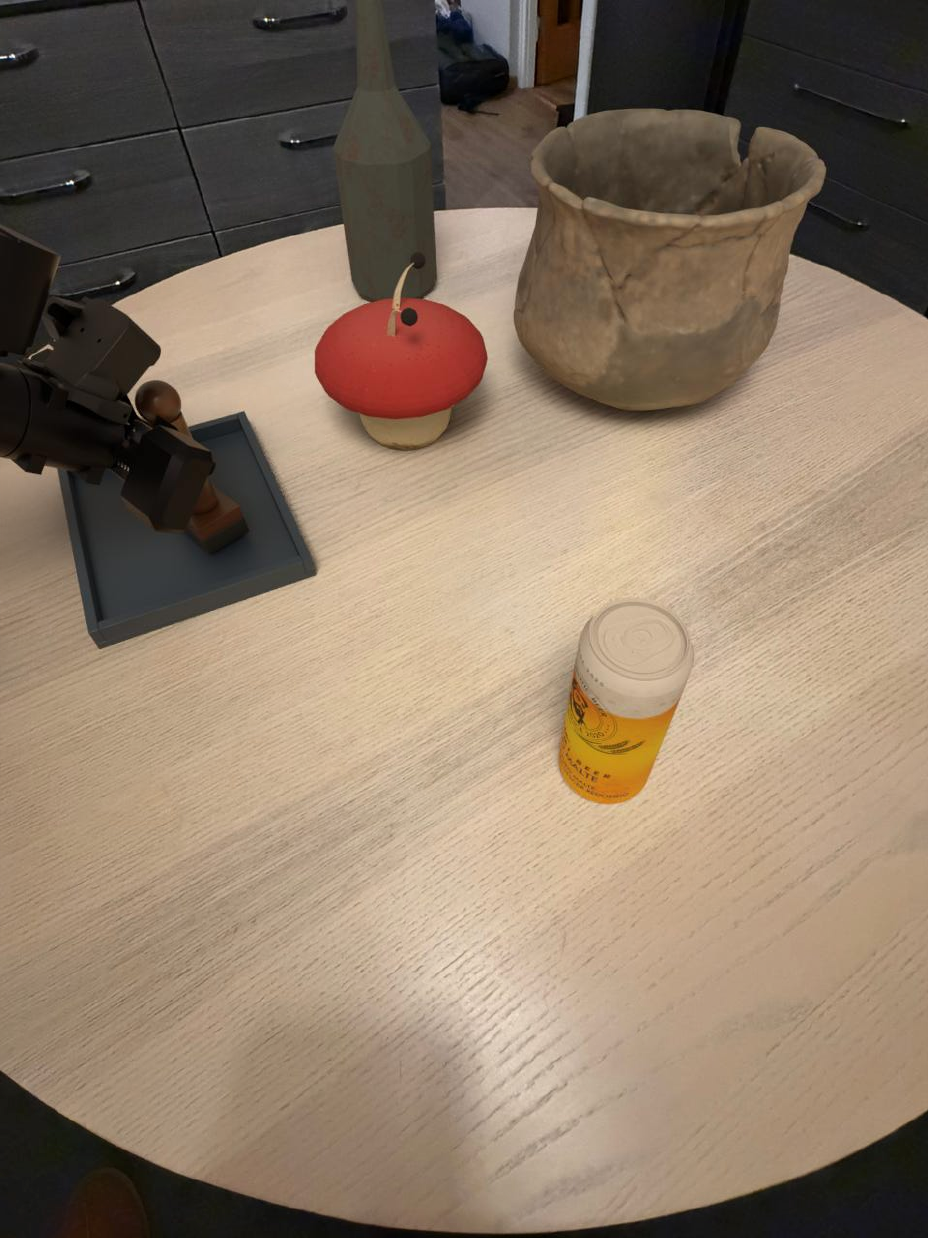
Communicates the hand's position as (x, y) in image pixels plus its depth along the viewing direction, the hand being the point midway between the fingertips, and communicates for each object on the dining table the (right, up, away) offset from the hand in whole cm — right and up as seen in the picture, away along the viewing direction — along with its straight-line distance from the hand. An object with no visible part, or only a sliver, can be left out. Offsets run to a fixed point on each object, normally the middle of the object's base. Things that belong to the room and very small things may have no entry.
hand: (202, 460), depth 60 cm
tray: (-4, -4, +6) cm, 8 cm away
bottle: (+13, +28, +31) cm, 43 cm away
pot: (+39, +12, +18) cm, 44 cm away
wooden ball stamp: (0, -5, +4) cm, 7 cm away
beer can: (+31, -23, -9) cm, 39 cm away
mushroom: (+16, +6, +14) cm, 22 cm away
